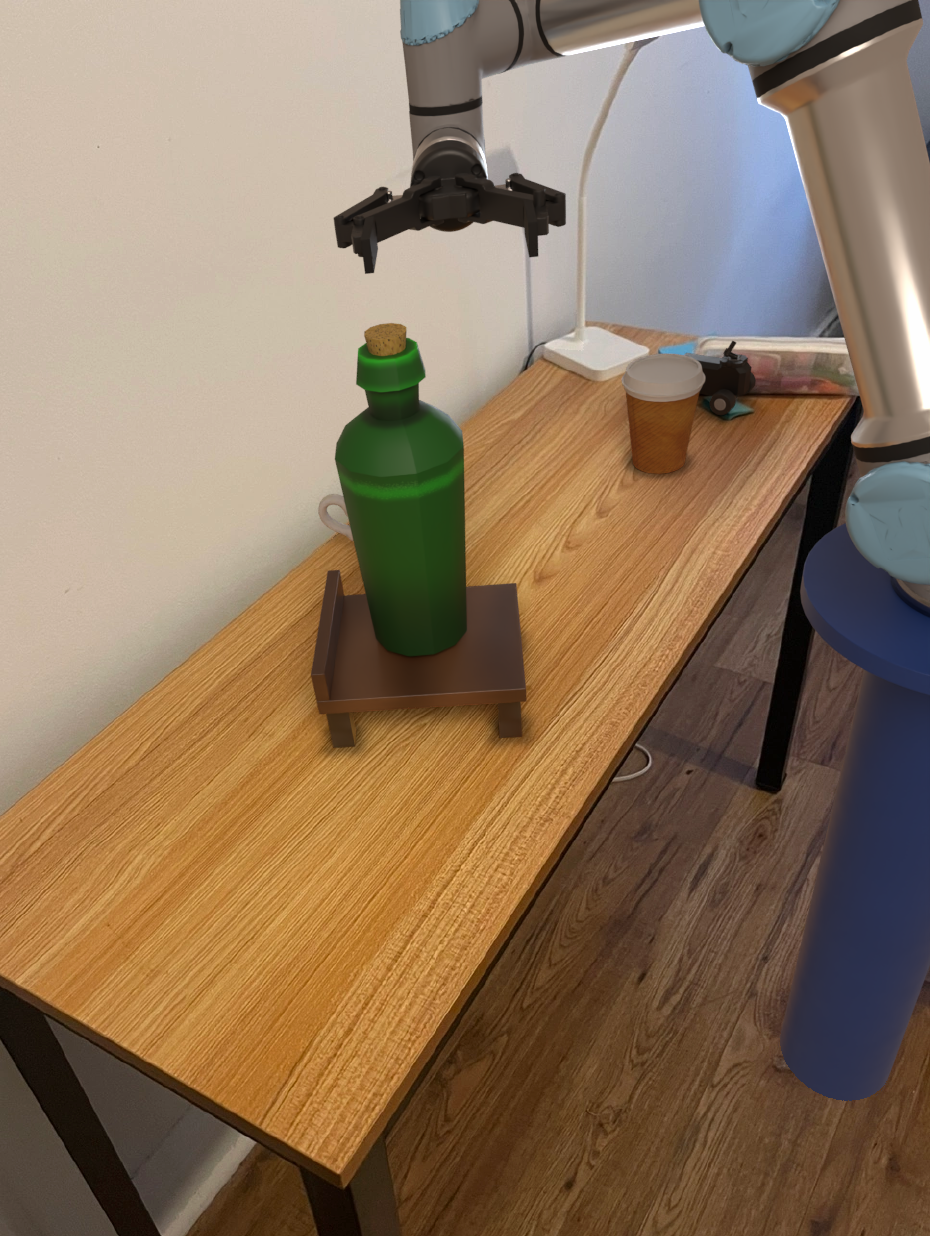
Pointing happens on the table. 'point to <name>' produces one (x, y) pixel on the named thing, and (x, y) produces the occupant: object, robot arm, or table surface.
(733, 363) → the toy vehicle
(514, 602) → the shelf
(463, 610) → the bottle
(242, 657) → the table surface
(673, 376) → the disposable coffee cup
